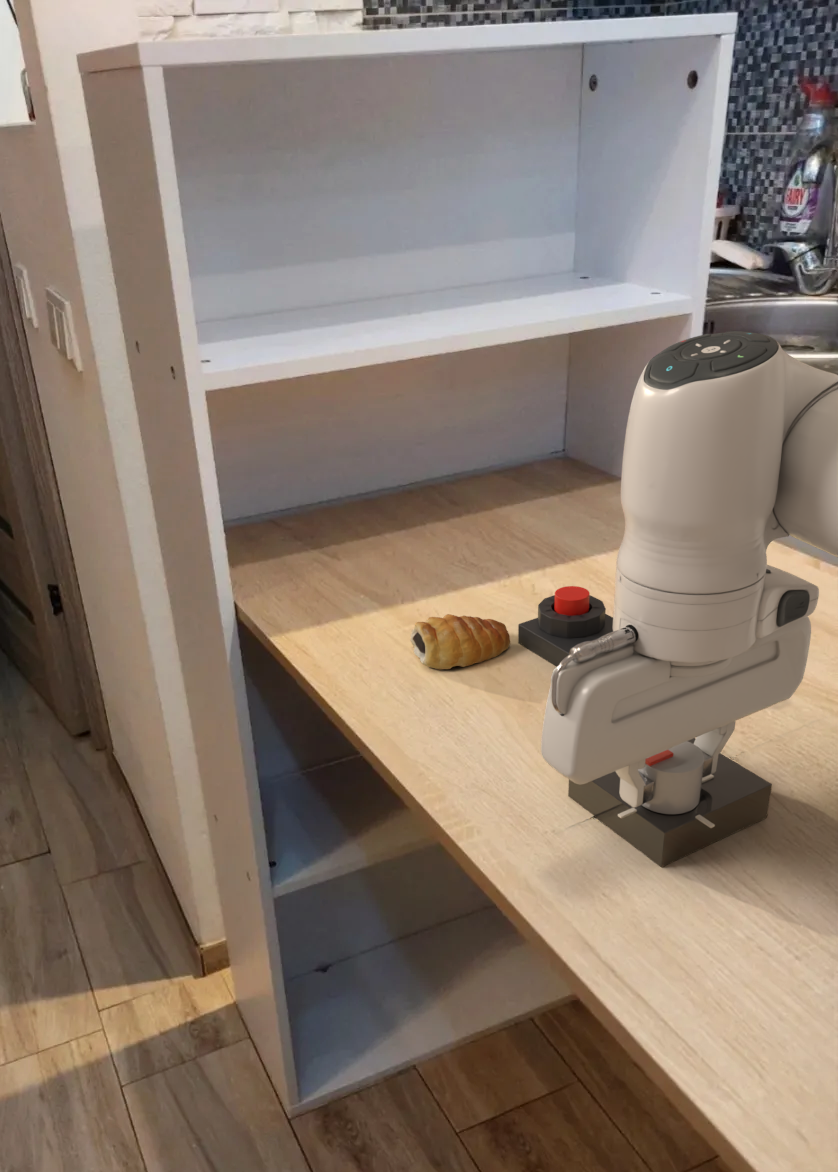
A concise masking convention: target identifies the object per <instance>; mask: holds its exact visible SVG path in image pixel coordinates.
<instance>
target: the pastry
mask: <svg viewBox="0 0 838 1172" xmlns="http://www.w3.org/2000/svg"><path fill="white" fill-rule="evenodd" d="M409 640H410V643H411V645H412V646H413V647H412V648H413V653H414V655H415V656H416V657H417V658H418V659H419V661H420V663H421V664H422V665H423V666H425V667H428V668H431V669H435V670H440V671H441V670H451V669H452V668H453V667H461V668H465V667H468V666H472V665H474V664H478V663H479V664H480V663H482V662H484V661H488V660H492V659H494V658H496V657H498V656H499V655H501V654H502V653H503V652H504V651H506V650H508V649H509V647H510V645H511V636H510V633H509V631H508V629H507V626H506V624H505V623H503V622H500V621H498V620H496V619H493V618H481V617H479V616H471V615H462V616H461V615H460V616H458V615H454V614H450V613H447V614H445V615H444V616H443V617H438V616H429V617H427V619H426V621H416V622H415V623H414V627H413V629H412V630H411V634H410V639H409Z"/></svg>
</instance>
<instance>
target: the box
mask: <svg viewBox="0 0 838 1172" xmlns="http://www.w3.org/2000/svg"><path fill="white" fill-rule="evenodd" d="M554 604H555V594H554V595H551V596H548V597H545V598H543V599H542V600H541V602H540V603H538V605H537V617H536V618H533V619H530V620H526V621H524V622H521V623H519V624H518V625H517V626H518V627H517V633H518V634H517V643H518V645H520V646H522V647H524V648H525V649H527V650H529V651H530V652H531V653H533V654H534V655H536V656H538V657H540V658H542V659H543V660H545V661H546V662H548V663H550V664H551V665H553V666H555V667H557V666H558V665H559V664H560V662H561V661H562V660H563V659H564V658H565V657H566V656H568V655H569V652H570V649H571V648H572V647H574V646H576V645H577V644H580V643H582V642H586V641H593V640H596V639H598V638H600V637H602V636H604V635H606V634H608V633H611V632H613V617H612V616H611V615H609V614H607V613H606V610H607V609H606V607H605V603H604V602H603V601H602V599H601V600H600V599H599V598H597V597H595V596H593V595H589V611H588V613H585V614H582V615H574V616H569V615H563V614H558V613H556V612H555V610H554Z"/></svg>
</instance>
